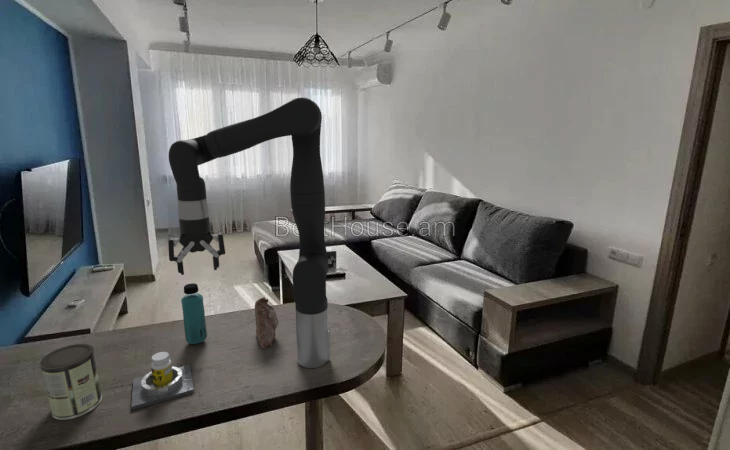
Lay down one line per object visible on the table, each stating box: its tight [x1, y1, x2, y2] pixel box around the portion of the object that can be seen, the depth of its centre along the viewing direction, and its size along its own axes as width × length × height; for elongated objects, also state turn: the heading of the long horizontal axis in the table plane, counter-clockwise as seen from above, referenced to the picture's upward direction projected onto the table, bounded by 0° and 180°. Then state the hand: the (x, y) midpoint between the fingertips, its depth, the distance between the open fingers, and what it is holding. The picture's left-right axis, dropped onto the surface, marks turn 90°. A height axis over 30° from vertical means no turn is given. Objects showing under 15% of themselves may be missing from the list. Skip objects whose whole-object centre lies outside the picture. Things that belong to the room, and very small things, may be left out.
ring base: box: [130, 364, 195, 411], centre depth 102 cm, size 14×12×3 cm
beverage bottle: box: [180, 283, 208, 345], centre depth 120 cm, size 6×7×20 cm
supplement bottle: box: [150, 351, 173, 387], centre depth 101 cm, size 5×5×8 cm
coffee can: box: [39, 343, 103, 421], centre depth 93 cm, size 10×10×14 cm
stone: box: [254, 296, 279, 349], centre depth 124 cm, size 15×8×10 cm
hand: (199, 271), depth 107 cm, fingers open, 8 cm apart
